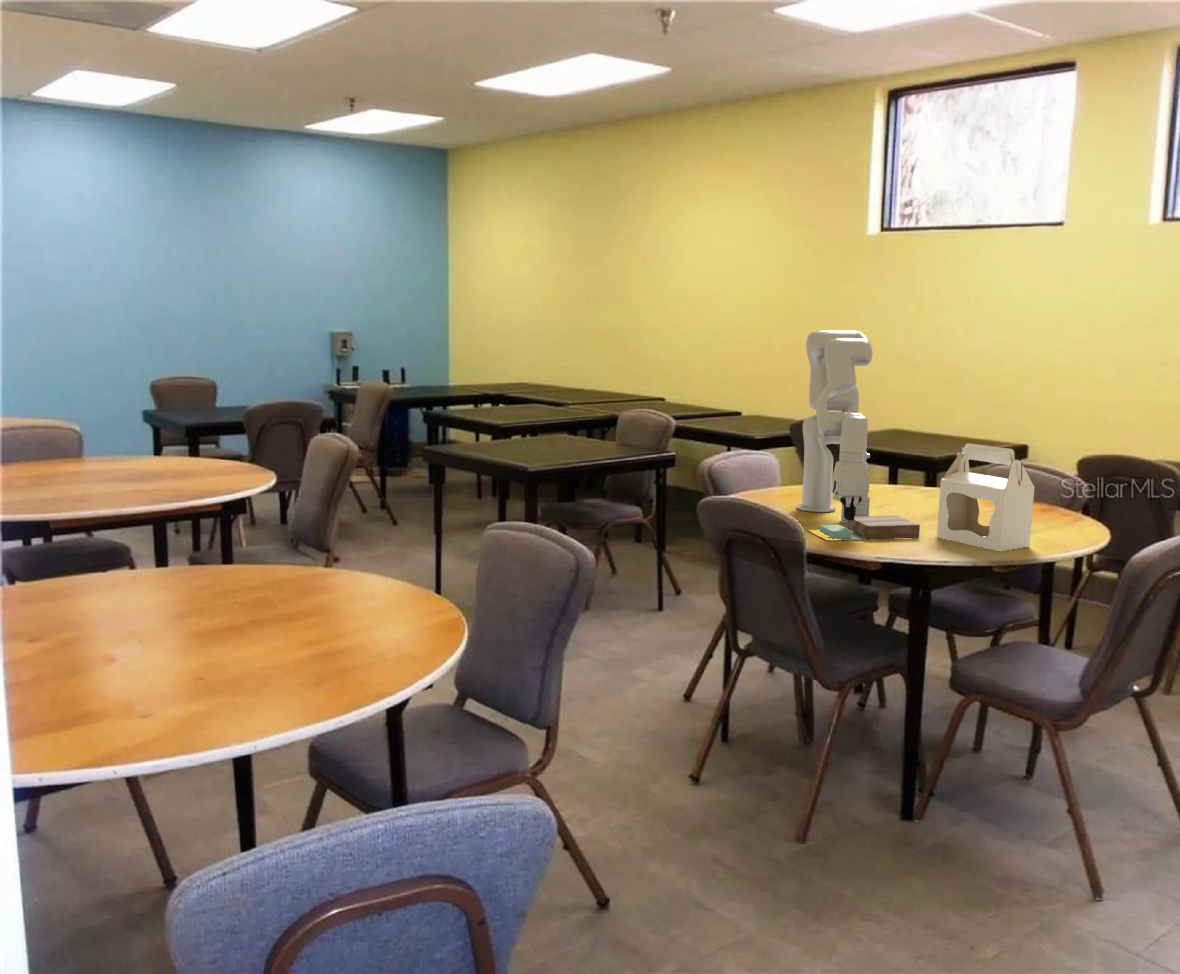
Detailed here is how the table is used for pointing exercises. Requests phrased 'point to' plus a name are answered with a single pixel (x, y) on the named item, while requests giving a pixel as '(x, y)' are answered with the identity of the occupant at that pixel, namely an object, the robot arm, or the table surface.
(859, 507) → the medicine box
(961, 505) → the gable box
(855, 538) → the mat
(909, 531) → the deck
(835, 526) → the block
